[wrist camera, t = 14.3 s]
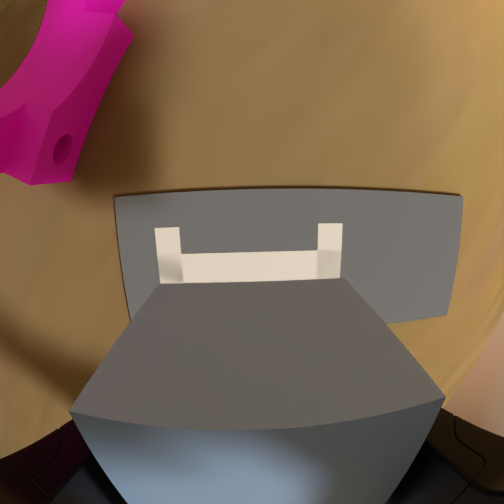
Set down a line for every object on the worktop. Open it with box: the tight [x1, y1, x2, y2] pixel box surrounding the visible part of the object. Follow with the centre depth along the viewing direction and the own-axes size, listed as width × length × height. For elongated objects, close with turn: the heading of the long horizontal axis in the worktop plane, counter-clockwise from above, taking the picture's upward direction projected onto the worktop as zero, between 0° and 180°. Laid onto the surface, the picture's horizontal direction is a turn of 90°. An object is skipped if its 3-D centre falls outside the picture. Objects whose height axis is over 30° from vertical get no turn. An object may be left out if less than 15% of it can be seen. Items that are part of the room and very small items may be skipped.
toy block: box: [0, 0, 134, 185], centre depth 11 cm, size 15×6×8 cm, turn 156°
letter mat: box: [114, 188, 463, 324], centre depth 18 cm, size 9×23×1 cm, turn 91°
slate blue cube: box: [69, 278, 445, 504], centre depth 6 cm, size 5×5×5 cm
